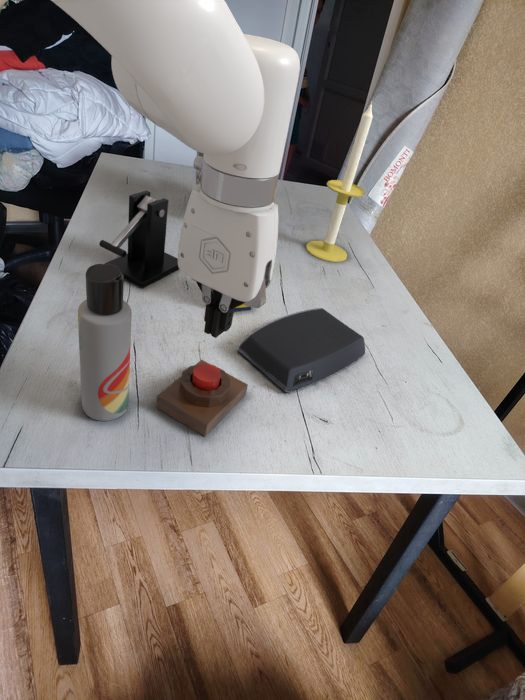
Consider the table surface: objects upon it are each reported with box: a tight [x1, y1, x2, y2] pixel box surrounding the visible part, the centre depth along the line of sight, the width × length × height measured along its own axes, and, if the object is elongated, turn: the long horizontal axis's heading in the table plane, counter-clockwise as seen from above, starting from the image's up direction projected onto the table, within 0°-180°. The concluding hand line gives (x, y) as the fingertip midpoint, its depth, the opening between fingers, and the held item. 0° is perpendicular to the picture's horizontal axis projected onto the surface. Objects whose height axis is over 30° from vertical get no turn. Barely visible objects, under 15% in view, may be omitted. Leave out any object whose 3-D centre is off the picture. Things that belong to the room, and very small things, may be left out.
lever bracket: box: [104, 189, 180, 290], centre depth 86 cm, size 12×9×14 cm
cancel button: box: [192, 363, 221, 391], centre depth 63 cm, size 4×4×2 cm
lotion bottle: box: [77, 263, 132, 422], centre depth 56 cm, size 6×6×20 cm
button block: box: [155, 359, 249, 437], centre depth 65 cm, size 10×8×4 cm
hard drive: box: [236, 307, 366, 393], centre depth 78 cm, size 13×19×4 cm
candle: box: [305, 101, 374, 263], centre depth 103 cm, size 10×10×32 cm
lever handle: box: [98, 195, 157, 257], centre depth 82 cm, size 12×5×2 cm
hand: (216, 330), depth 59 cm, fingers closed
